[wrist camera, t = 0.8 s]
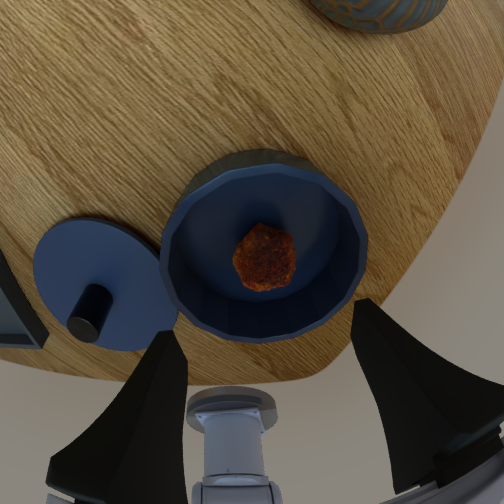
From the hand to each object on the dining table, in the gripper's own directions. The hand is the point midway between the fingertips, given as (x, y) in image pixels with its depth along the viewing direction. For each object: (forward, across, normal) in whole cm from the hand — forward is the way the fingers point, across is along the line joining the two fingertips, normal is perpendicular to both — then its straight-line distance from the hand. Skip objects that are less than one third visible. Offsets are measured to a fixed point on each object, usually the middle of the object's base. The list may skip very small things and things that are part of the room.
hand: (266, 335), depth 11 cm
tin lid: (+8, +12, +2) cm, 14 cm away
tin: (+8, 0, 0) cm, 8 cm away
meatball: (+8, 0, 0) cm, 8 cm away
